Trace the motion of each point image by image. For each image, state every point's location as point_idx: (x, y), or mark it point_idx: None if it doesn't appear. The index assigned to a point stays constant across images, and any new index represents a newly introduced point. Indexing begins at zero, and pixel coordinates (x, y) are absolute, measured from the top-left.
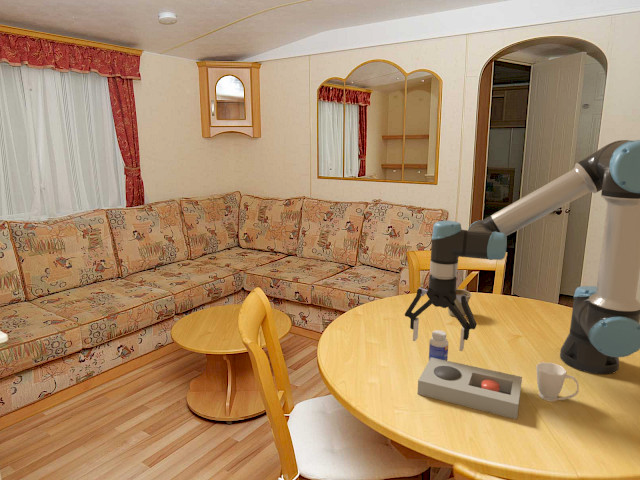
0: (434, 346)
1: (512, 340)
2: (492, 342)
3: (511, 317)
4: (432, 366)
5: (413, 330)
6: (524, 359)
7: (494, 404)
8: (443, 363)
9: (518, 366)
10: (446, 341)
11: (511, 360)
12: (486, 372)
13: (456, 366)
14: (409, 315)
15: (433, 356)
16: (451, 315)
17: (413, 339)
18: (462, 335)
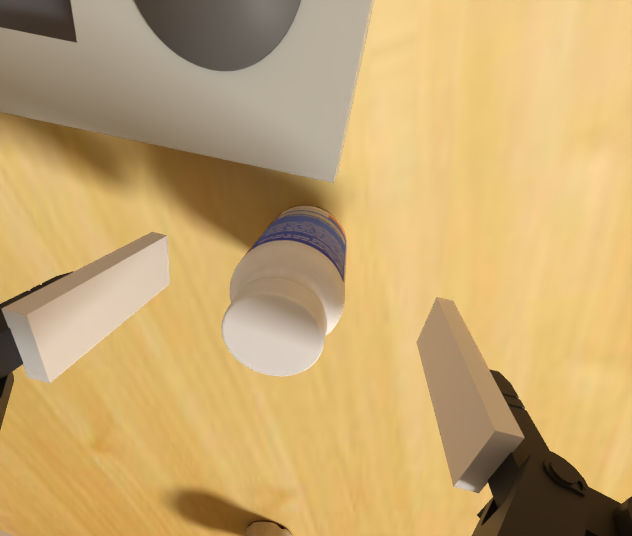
0: (311, 247)
1: (103, 426)
2: (150, 411)
3: (138, 520)
4: (320, 44)
5: (479, 351)
6: None
7: None
8: (255, 117)
9: (37, 283)
10: (234, 291)
11: None
12: (15, 74)
13: (178, 100)
14: (602, 515)
15: (322, 225)
16: (283, 529)
17: (451, 305)
18: (63, 281)
